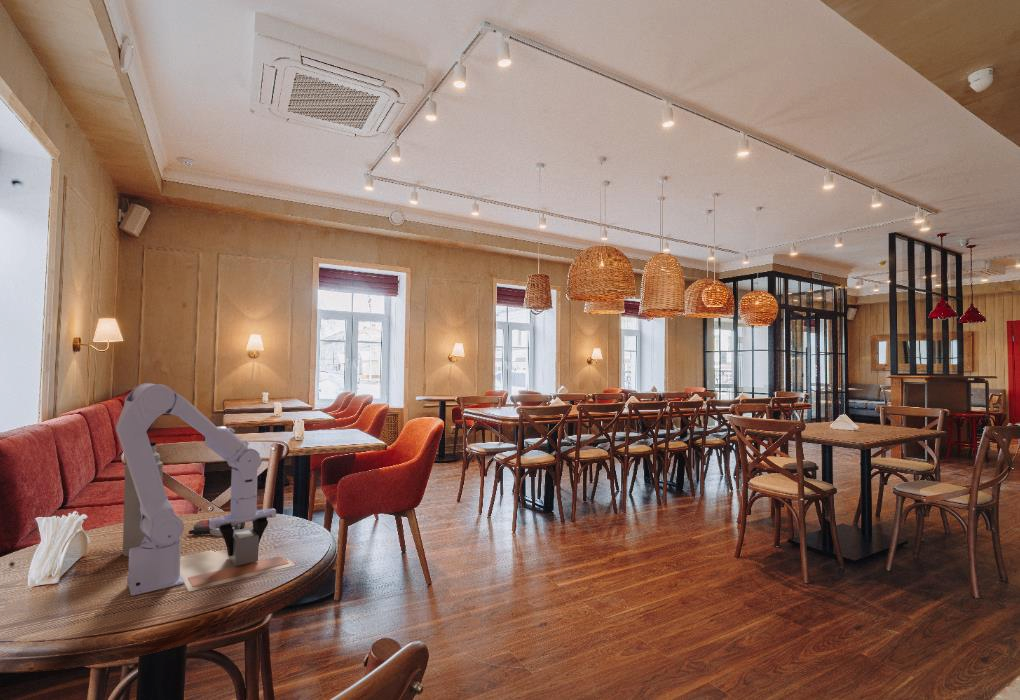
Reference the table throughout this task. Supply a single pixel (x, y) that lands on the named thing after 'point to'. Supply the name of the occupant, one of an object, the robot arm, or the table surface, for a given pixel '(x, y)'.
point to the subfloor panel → (222, 568)
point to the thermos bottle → (134, 508)
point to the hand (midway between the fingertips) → (243, 552)
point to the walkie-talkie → (203, 528)
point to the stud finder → (245, 547)
